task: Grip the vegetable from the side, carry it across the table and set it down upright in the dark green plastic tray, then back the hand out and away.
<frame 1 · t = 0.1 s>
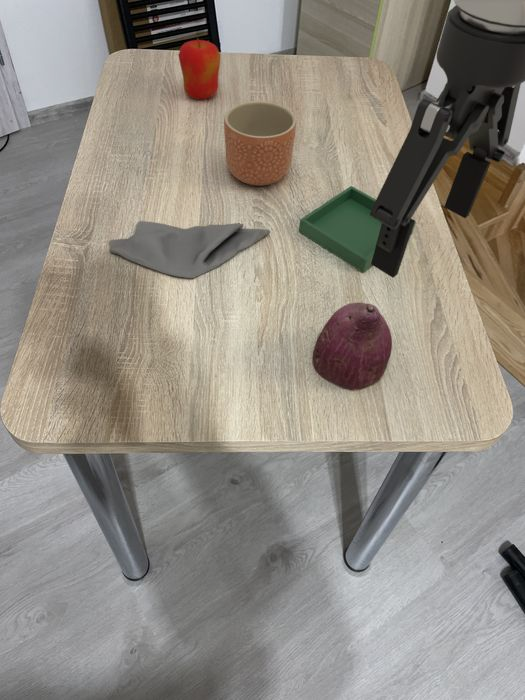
hand: (422, 239, 56), 22 cm above the table, tool pointing down, fingers open, 13 cm apart
planter: (258, 175, 100), on the table
vegetable: (349, 360, 74), on the table
apple: (201, 96, 118), on the table
cloth: (189, 250, 87), on the table
green tray: (355, 232, 91), on the table
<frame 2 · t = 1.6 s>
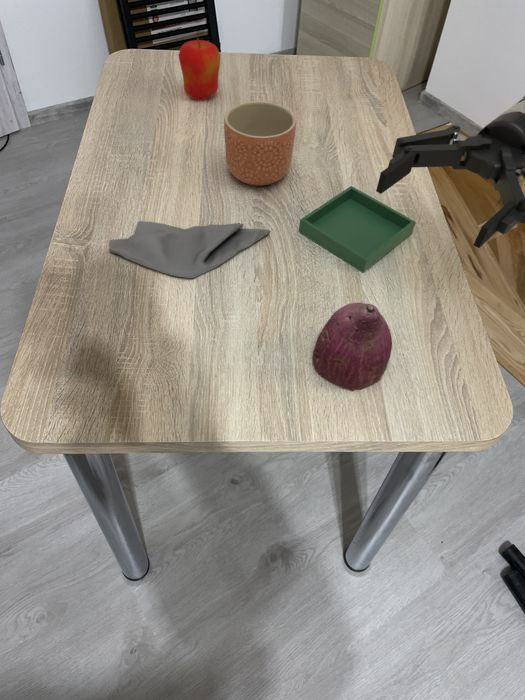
hand: (428, 209, 62), 20 cm above the table, tool horizontal, fingers open, 13 cm apart
nothing on the table moved.
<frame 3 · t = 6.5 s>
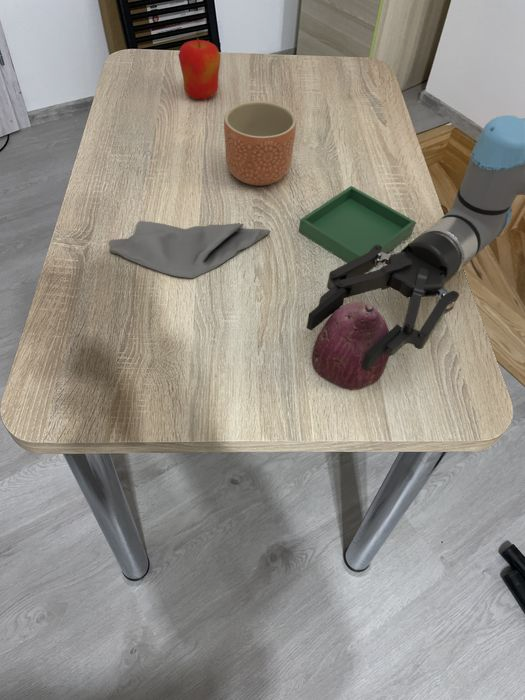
hand: (337, 341, 66), 8 cm above the table, tool horizontal, fingers closed on vegetable, 8 cm apart
vegetable: (348, 359, 74), on the table, touching gripper
everything else where it was.
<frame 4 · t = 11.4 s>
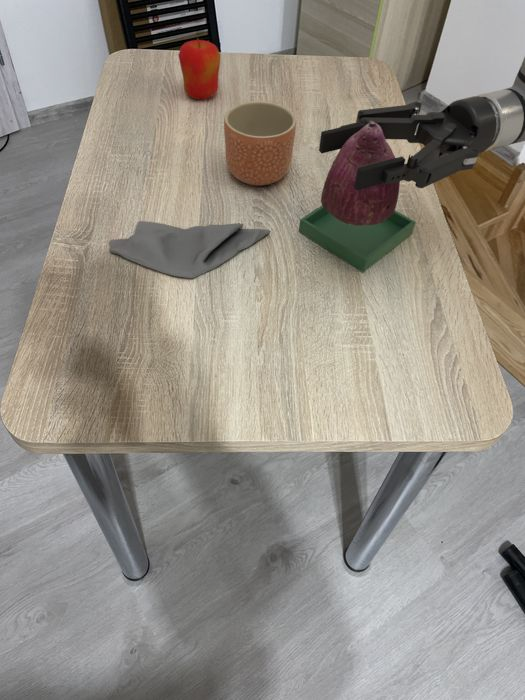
hand: (339, 160, 68), 20 cm above the table, tool horizontal, fingers closed on vegetable, 8 cm apart
vegetable: (358, 204, 76), point 12 cm above the table, touching gripper
everything else where it was.
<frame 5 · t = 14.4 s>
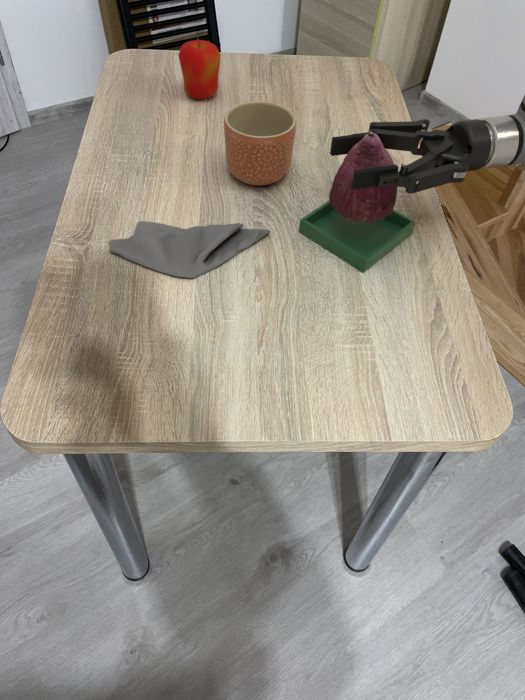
hand: (342, 162, 79), 14 cm above the table, tool horizontal, fingers closed on vegetable, 8 cm apart
vegetable: (361, 204, 87), point 6 cm above the table, touching gripper
everything else where it was.
when the fingers open (9 cm above the table, at t = 16.4 s): vegetable stays where it is, resting on green tray.
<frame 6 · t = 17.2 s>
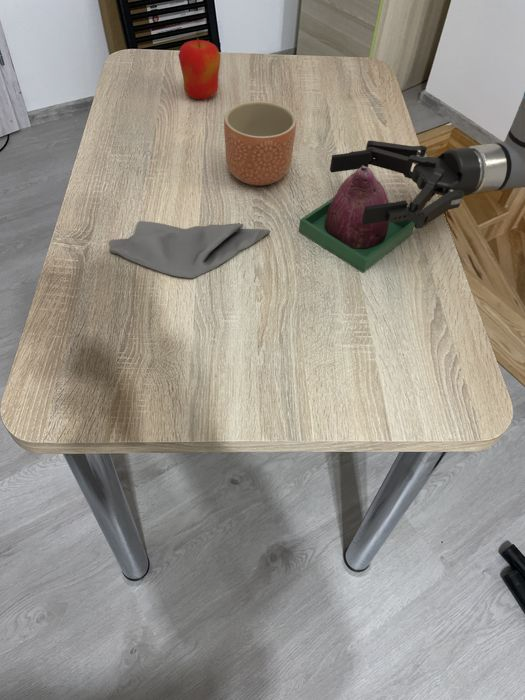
hand: (346, 188, 83), 9 cm above the table, tool horizontal, fingers open, 13 cm apart
vegetable: (355, 230, 91), resting on green tray
everything else where it was.
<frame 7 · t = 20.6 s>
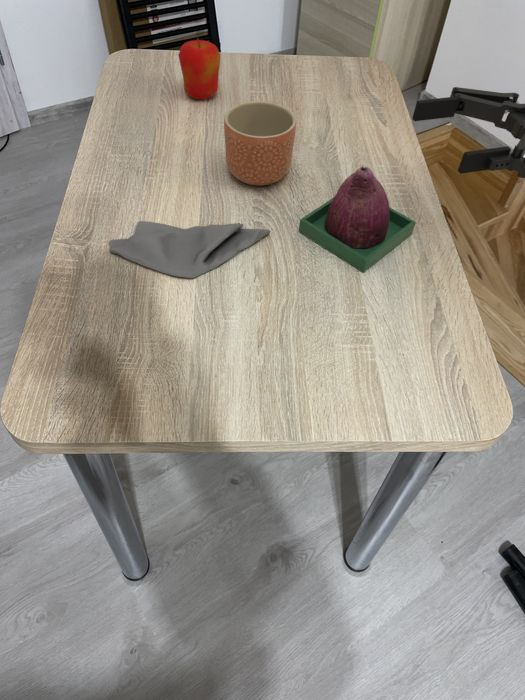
hand: (437, 135, 74), 20 cm above the table, tool horizontal, fingers open, 13 cm apart
nothing on the table moved.
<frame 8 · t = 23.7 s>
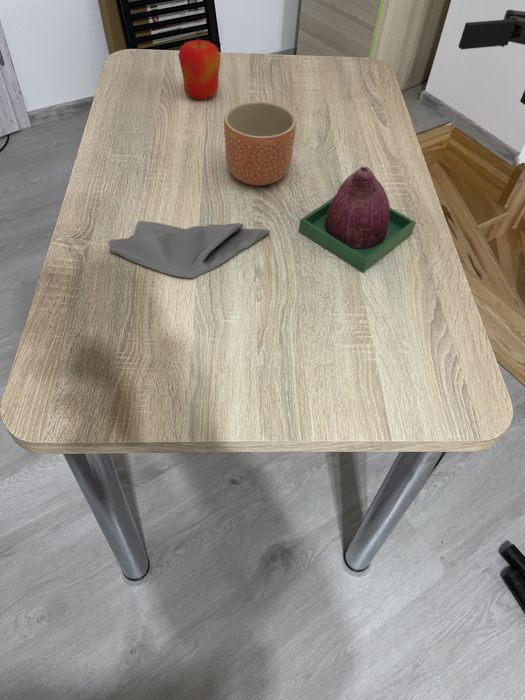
hand: (492, 61, 61), 32 cm above the table, tool horizontal, fingers open, 13 cm apart
nothing on the table moved.
at the end: vegetable inside the target area in the green tray (0.2 cm from its centre), point 0.4 cm above the green tray's base; vegetable tilted 0°; the gripper is holding nothing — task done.
